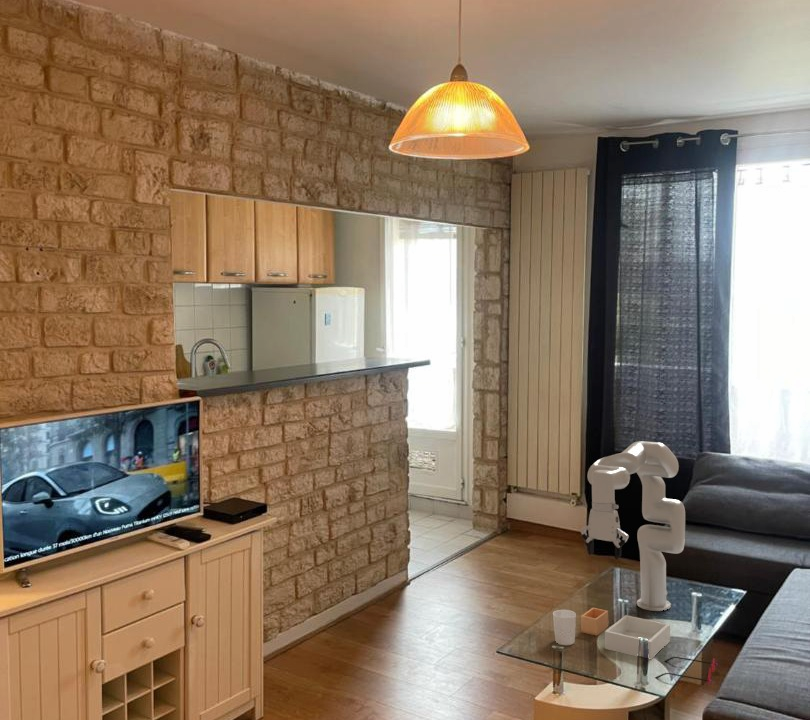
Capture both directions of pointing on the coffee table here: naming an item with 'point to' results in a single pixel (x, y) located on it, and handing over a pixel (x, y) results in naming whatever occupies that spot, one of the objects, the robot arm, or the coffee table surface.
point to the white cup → (564, 626)
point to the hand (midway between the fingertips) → (604, 555)
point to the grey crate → (636, 635)
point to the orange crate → (594, 621)
